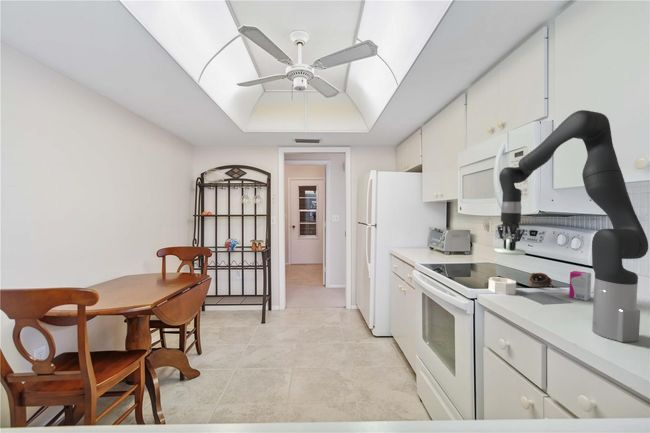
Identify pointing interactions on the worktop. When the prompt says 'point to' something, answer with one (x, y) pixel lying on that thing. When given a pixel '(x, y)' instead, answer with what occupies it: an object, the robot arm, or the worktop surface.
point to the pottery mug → (539, 280)
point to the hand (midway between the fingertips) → (509, 249)
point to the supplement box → (580, 285)
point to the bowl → (502, 285)
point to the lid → (509, 252)
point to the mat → (543, 298)
